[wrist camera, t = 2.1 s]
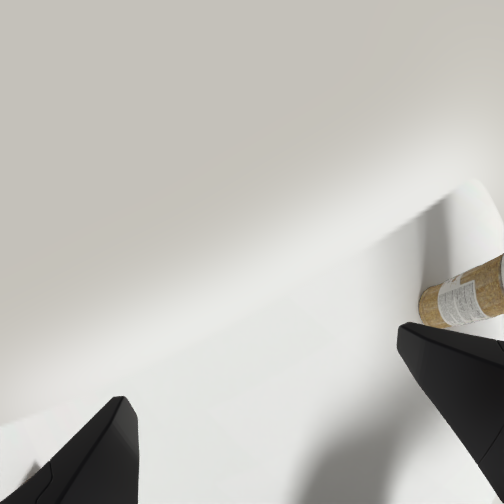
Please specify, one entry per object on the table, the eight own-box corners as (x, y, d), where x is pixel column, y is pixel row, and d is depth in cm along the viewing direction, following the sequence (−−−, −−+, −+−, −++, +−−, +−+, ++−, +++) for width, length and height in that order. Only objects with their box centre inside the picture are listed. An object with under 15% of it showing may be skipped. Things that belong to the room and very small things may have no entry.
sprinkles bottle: (444, 283, 25) (538, 235, 12) (453, 325, 24) (554, 296, 11) (412, 291, 25) (511, 241, 12) (421, 336, 23) (528, 312, 11)
